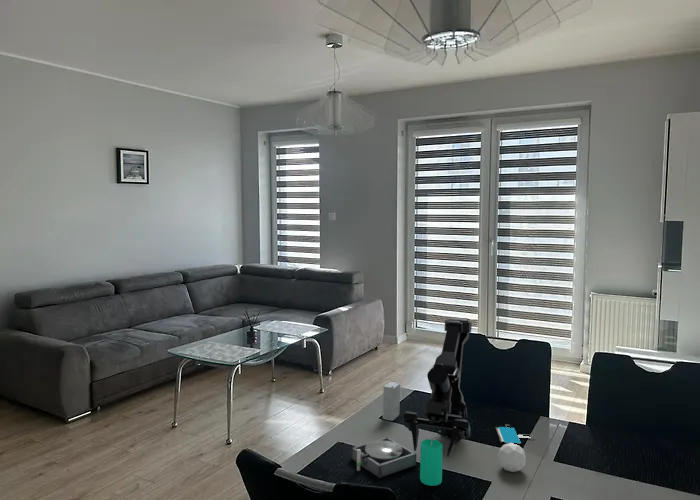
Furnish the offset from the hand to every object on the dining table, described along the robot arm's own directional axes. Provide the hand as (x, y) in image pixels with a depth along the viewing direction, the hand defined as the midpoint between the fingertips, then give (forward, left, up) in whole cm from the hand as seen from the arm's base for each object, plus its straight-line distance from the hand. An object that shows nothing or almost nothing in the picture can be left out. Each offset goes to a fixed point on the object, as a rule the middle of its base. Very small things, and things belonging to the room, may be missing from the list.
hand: (431, 453), depth 147 cm
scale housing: (+6, -16, -8) cm, 18 cm away
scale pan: (+5, -16, -5) cm, 17 cm away
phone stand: (-43, -6, -8) cm, 44 cm away
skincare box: (-19, -41, -8) cm, 45 cm away
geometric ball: (-24, +8, -8) cm, 26 cm away
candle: (0, 0, -8) cm, 8 cm away
